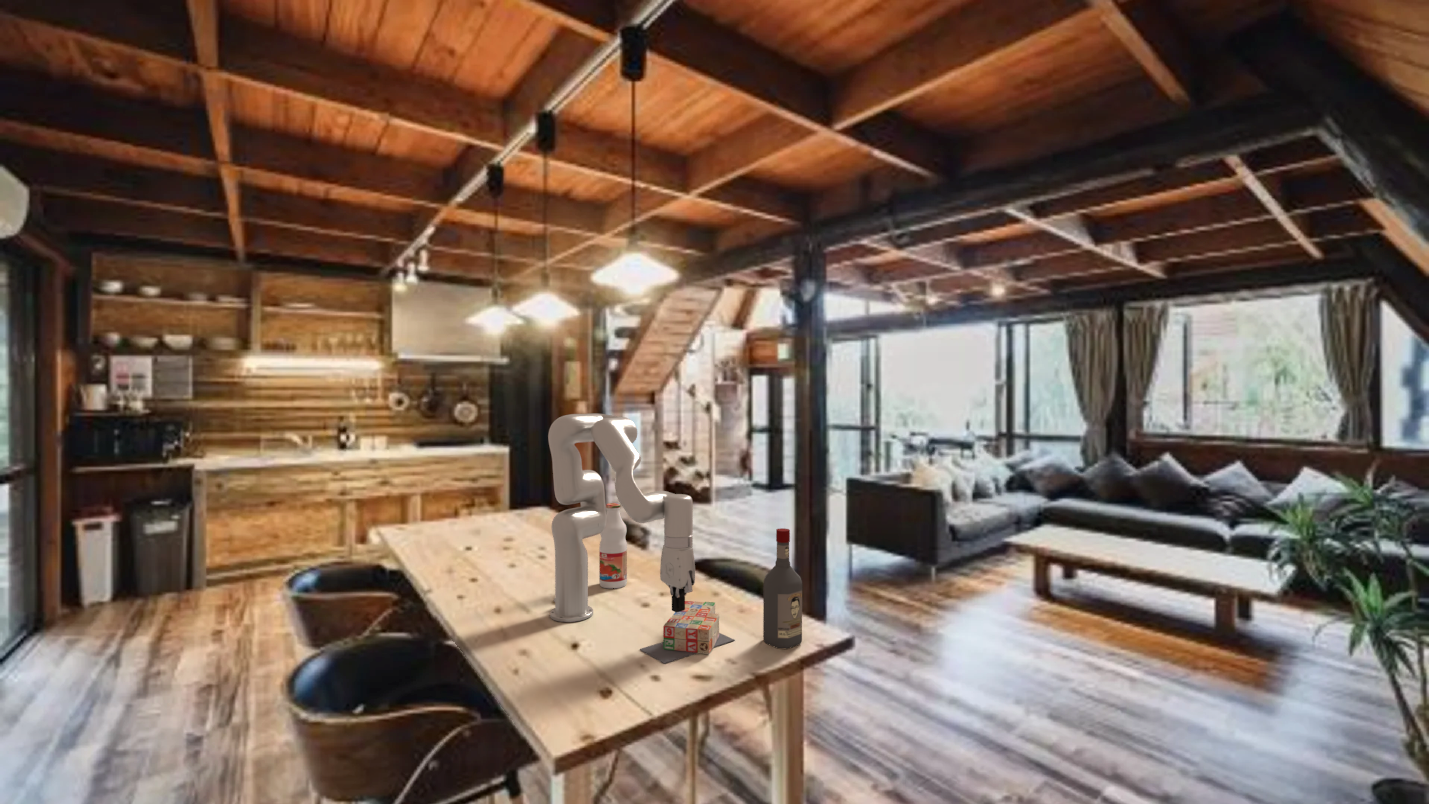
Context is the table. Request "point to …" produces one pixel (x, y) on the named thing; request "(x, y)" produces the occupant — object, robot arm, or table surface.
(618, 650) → the table surface
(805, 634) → the table surface
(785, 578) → the liquor
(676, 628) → the stack of blocks
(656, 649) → the mat
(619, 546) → the fruit juice
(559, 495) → the robot arm
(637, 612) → the table surface
